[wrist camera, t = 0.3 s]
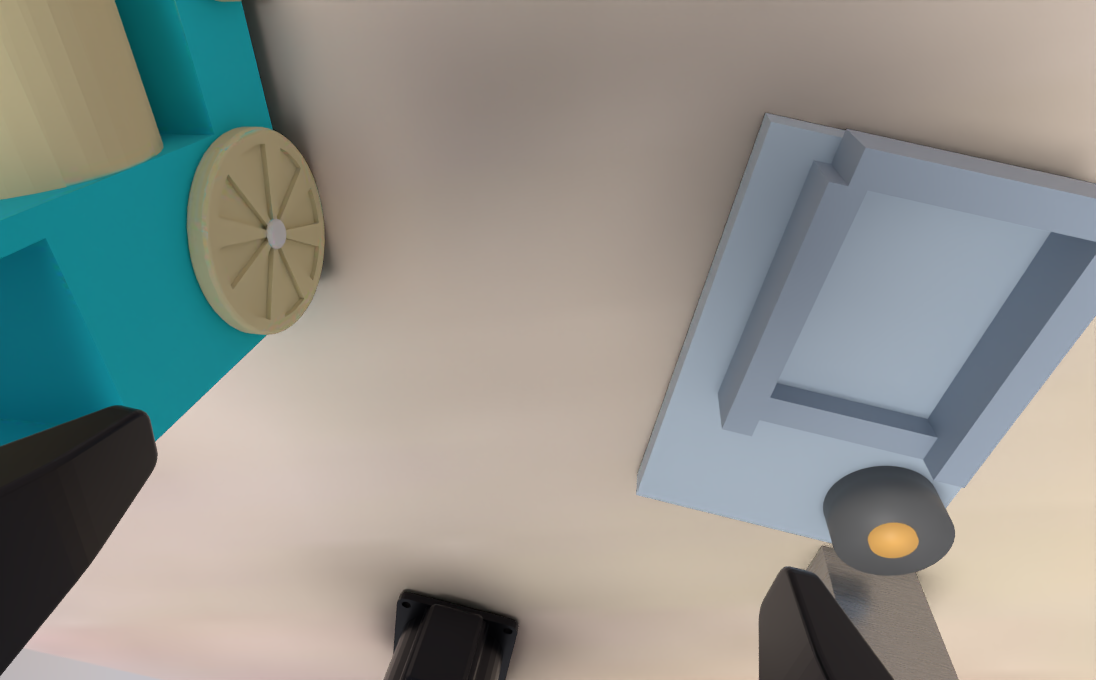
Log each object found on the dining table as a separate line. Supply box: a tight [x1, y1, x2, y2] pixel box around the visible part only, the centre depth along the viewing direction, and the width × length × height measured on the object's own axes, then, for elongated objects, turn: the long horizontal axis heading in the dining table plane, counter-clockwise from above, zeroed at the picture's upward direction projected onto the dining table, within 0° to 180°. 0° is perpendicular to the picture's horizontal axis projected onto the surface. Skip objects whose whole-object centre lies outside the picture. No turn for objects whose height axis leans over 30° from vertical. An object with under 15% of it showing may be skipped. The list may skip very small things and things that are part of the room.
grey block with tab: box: [806, 546, 959, 680], centre depth 26 cm, size 5×4×7 cm
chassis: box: [636, 113, 1096, 576], centre depth 21 cm, size 15×11×3 cm
